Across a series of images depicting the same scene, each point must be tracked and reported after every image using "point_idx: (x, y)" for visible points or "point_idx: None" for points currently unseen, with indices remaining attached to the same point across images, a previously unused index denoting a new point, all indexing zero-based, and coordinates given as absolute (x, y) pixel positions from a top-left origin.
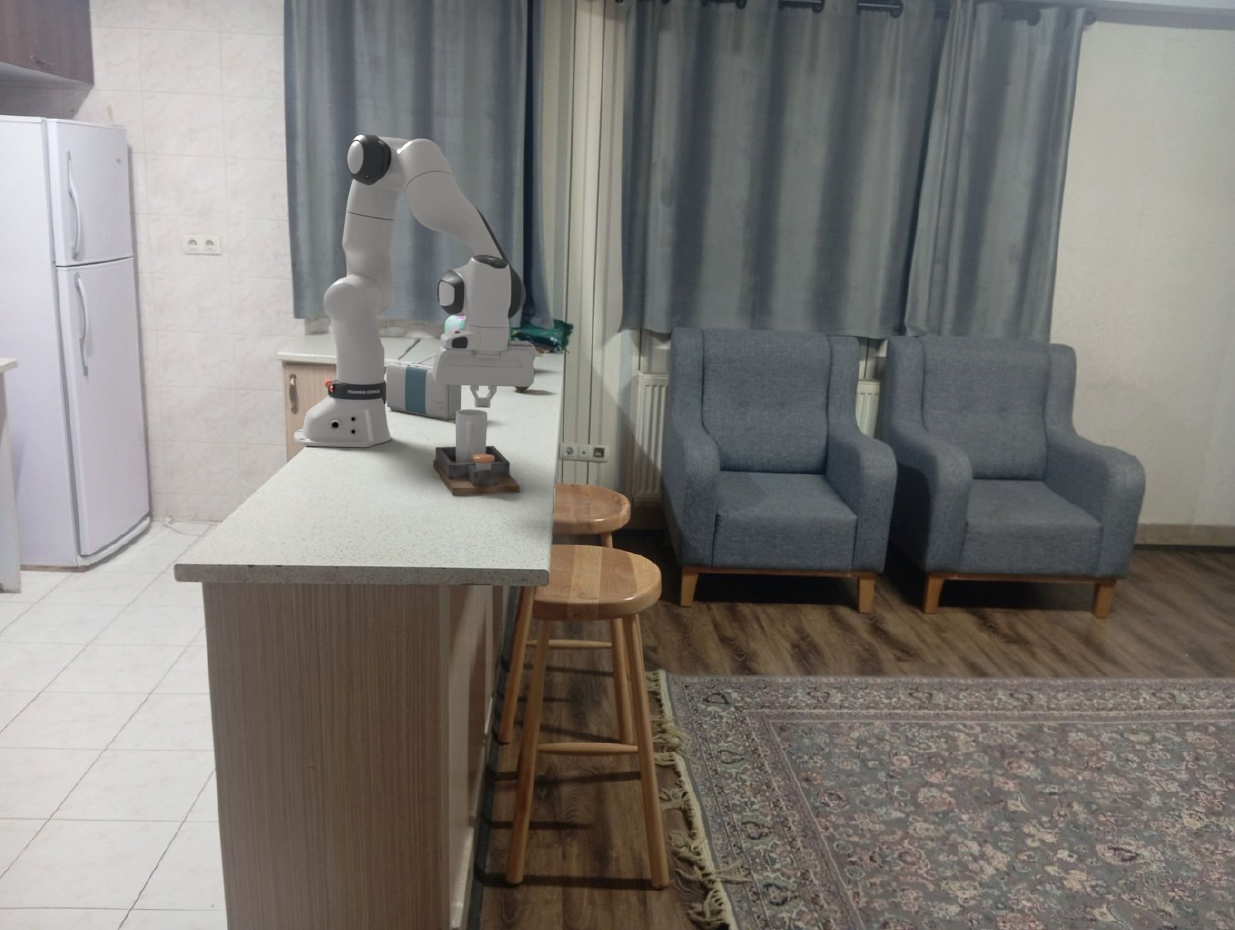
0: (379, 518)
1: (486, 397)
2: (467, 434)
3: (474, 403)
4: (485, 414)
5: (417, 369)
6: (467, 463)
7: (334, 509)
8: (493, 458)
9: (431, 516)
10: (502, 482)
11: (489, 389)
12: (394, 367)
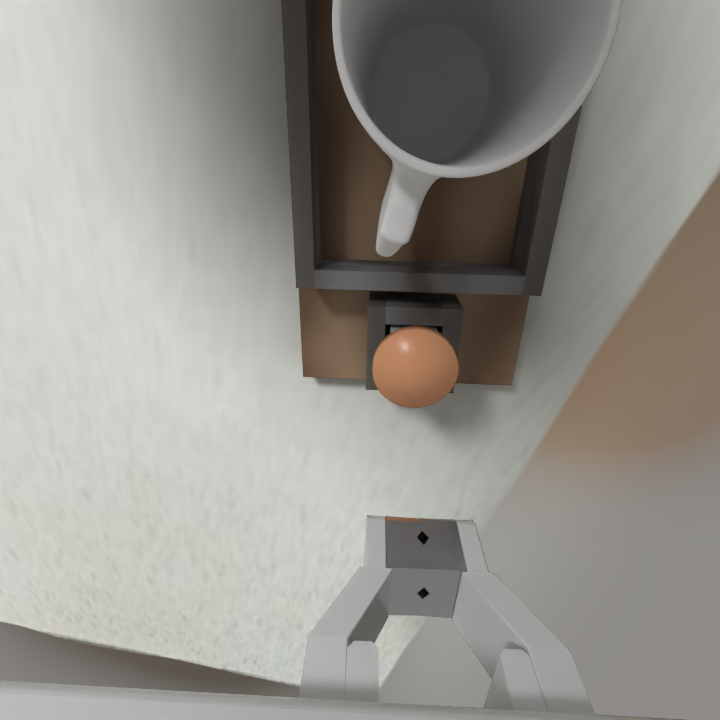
0: (129, 488)
1: (462, 589)
2: (377, 251)
3: (366, 523)
4: (562, 124)
5: None
6: (370, 280)
7: (20, 419)
8: (445, 394)
9: (238, 497)
10: (470, 345)
11: (488, 706)
12: None
